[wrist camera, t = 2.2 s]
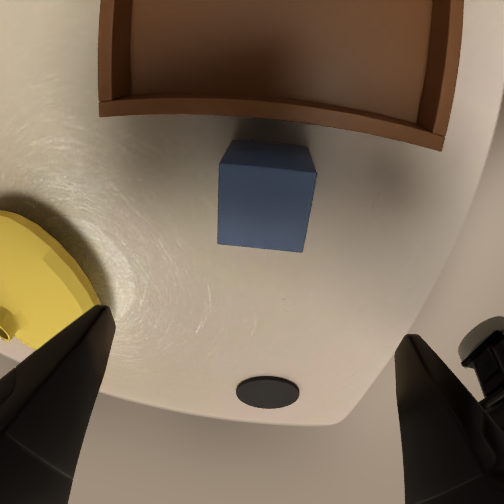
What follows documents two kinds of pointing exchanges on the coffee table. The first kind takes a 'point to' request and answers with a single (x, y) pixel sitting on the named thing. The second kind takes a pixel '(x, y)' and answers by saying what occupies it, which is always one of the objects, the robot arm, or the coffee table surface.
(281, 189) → the block
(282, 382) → the coaster
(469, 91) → the coffee table surface
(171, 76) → the tray
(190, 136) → the coffee table surface
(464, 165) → the coffee table surface
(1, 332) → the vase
